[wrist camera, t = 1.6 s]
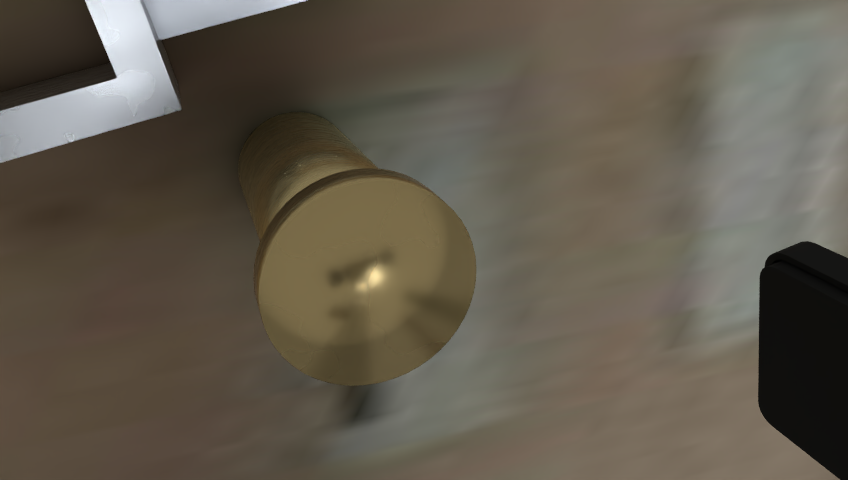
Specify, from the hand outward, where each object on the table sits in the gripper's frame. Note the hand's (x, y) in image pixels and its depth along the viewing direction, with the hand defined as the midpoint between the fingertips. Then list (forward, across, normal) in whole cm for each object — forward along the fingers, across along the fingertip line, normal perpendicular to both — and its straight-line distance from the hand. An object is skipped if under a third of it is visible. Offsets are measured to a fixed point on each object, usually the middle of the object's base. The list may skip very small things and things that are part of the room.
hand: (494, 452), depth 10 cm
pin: (+16, 0, +1) cm, 16 cm away
